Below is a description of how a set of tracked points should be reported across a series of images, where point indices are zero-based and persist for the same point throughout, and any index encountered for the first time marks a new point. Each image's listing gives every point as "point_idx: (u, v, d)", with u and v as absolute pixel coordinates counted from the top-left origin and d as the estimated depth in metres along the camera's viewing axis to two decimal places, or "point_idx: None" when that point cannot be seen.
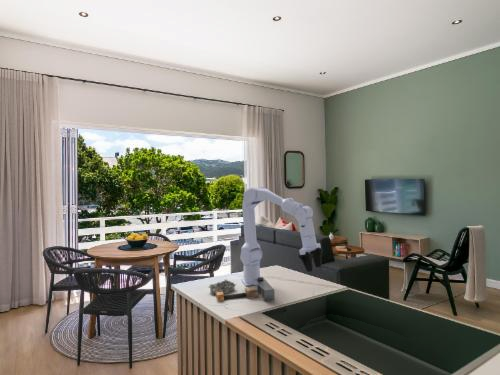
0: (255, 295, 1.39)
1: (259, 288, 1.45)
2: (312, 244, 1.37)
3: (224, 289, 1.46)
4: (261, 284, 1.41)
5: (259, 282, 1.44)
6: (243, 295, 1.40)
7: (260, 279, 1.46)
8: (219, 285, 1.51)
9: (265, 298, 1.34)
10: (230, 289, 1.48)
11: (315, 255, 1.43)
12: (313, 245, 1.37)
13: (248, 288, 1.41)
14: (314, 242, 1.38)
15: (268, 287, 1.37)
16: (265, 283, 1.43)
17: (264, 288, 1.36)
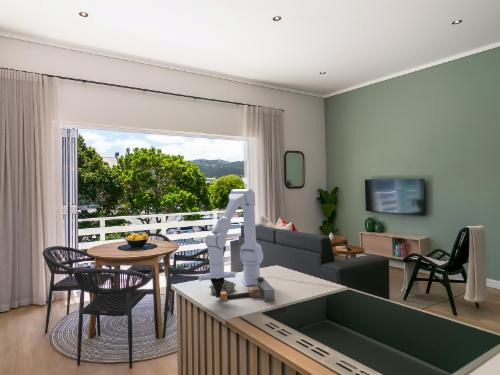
0: (258, 295, 1.40)
1: None
2: (213, 273, 1.35)
3: (225, 289, 1.46)
4: (261, 284, 1.41)
5: (259, 282, 1.44)
6: (246, 295, 1.40)
7: (260, 279, 1.46)
8: None
9: (265, 298, 1.34)
10: (230, 289, 1.48)
11: None
12: (214, 274, 1.35)
13: (251, 288, 1.42)
14: (215, 272, 1.35)
15: (268, 287, 1.37)
16: (265, 283, 1.43)
17: (264, 288, 1.36)
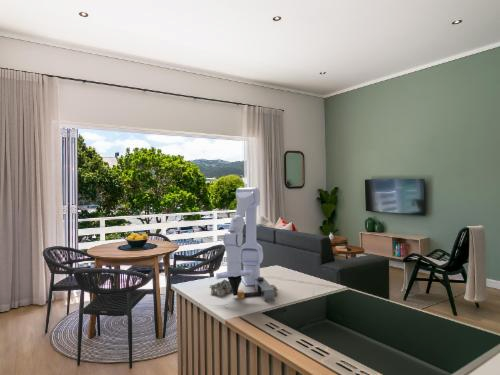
0: (275, 293, 1.41)
1: (259, 288, 1.45)
2: (230, 271, 1.37)
3: (225, 289, 1.46)
4: (261, 284, 1.41)
5: (259, 282, 1.44)
6: None
7: (260, 279, 1.46)
8: (219, 285, 1.50)
9: (265, 298, 1.34)
10: (230, 289, 1.49)
11: None
12: (231, 273, 1.37)
13: None
14: (233, 270, 1.37)
15: (268, 287, 1.37)
16: (265, 283, 1.43)
17: (264, 288, 1.36)
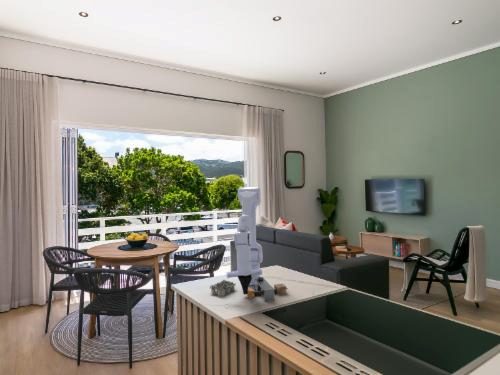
0: (284, 292, 1.42)
1: (259, 288, 1.45)
2: (241, 270, 1.38)
3: (226, 289, 1.46)
4: (261, 284, 1.41)
5: (259, 282, 1.44)
6: None
7: (260, 279, 1.46)
8: (218, 285, 1.50)
9: (265, 298, 1.34)
10: (230, 289, 1.49)
11: None
12: (242, 272, 1.38)
13: (277, 285, 1.44)
14: (243, 269, 1.37)
15: (268, 287, 1.37)
16: (265, 283, 1.43)
17: (264, 288, 1.36)
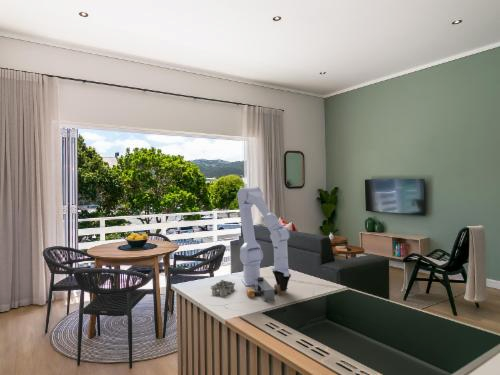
0: (285, 292, 1.42)
1: (259, 288, 1.45)
2: None
3: (227, 289, 1.46)
4: (261, 284, 1.41)
5: (259, 282, 1.44)
6: None
7: (260, 279, 1.46)
8: (218, 286, 1.50)
9: (265, 298, 1.34)
10: (230, 288, 1.49)
11: None
12: None
13: (278, 285, 1.44)
14: (274, 263, 1.44)
15: (268, 287, 1.37)
16: (265, 283, 1.43)
17: (264, 288, 1.36)
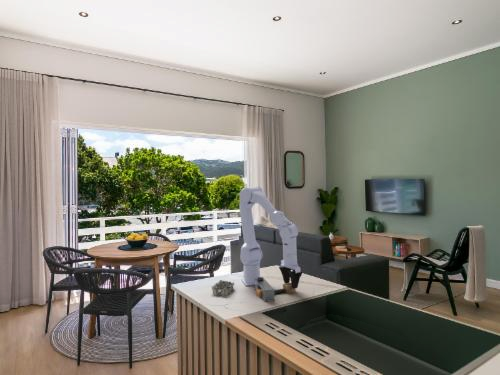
0: (294, 291, 1.43)
1: (259, 288, 1.45)
2: None
3: (227, 289, 1.46)
4: (261, 284, 1.41)
5: (259, 282, 1.44)
6: (282, 291, 1.43)
7: (260, 279, 1.46)
8: (217, 286, 1.50)
9: (265, 298, 1.34)
10: (230, 288, 1.50)
11: None
12: (283, 262, 1.45)
13: (286, 284, 1.45)
14: (283, 260, 1.44)
15: (268, 287, 1.37)
16: (265, 283, 1.43)
17: (264, 288, 1.36)
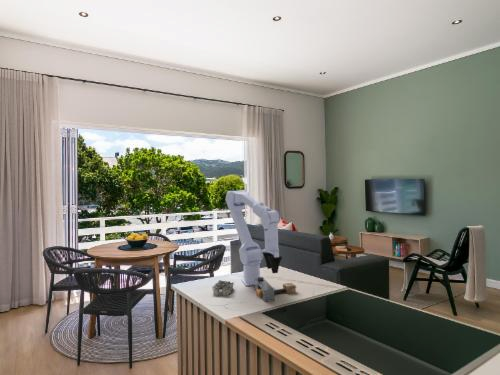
0: (294, 291, 1.43)
1: (259, 288, 1.45)
2: None
3: (228, 288, 1.47)
4: (261, 284, 1.41)
5: (259, 282, 1.44)
6: (282, 291, 1.43)
7: (260, 279, 1.46)
8: (217, 286, 1.49)
9: (265, 298, 1.34)
10: (230, 288, 1.50)
11: None
12: None
13: (286, 284, 1.45)
14: (265, 245, 1.47)
15: (268, 287, 1.37)
16: (265, 283, 1.43)
17: (264, 288, 1.36)
